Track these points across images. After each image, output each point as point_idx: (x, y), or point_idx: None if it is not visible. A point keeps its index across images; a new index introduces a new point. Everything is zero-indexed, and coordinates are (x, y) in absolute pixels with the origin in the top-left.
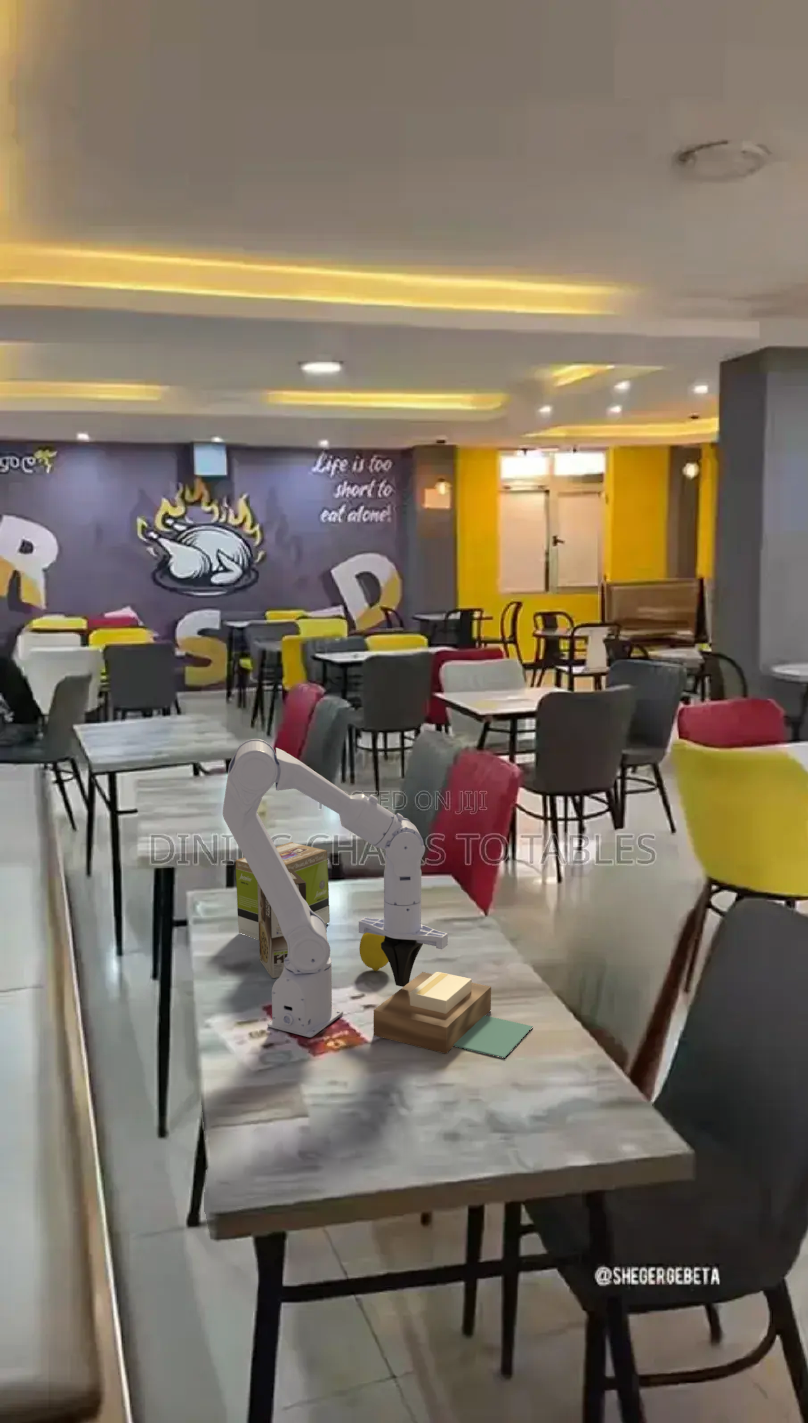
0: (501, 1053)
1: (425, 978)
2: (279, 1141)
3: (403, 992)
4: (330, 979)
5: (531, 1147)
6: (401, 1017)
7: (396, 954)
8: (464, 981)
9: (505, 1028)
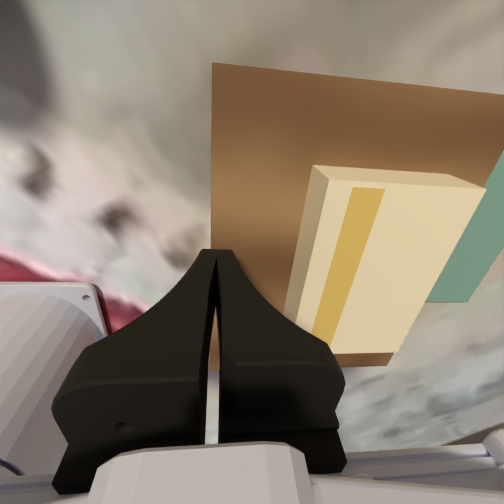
0: (462, 293)
1: (254, 135)
2: None
3: None
4: (42, 416)
5: (471, 418)
6: None
7: (205, 410)
8: (454, 223)
9: (485, 198)
